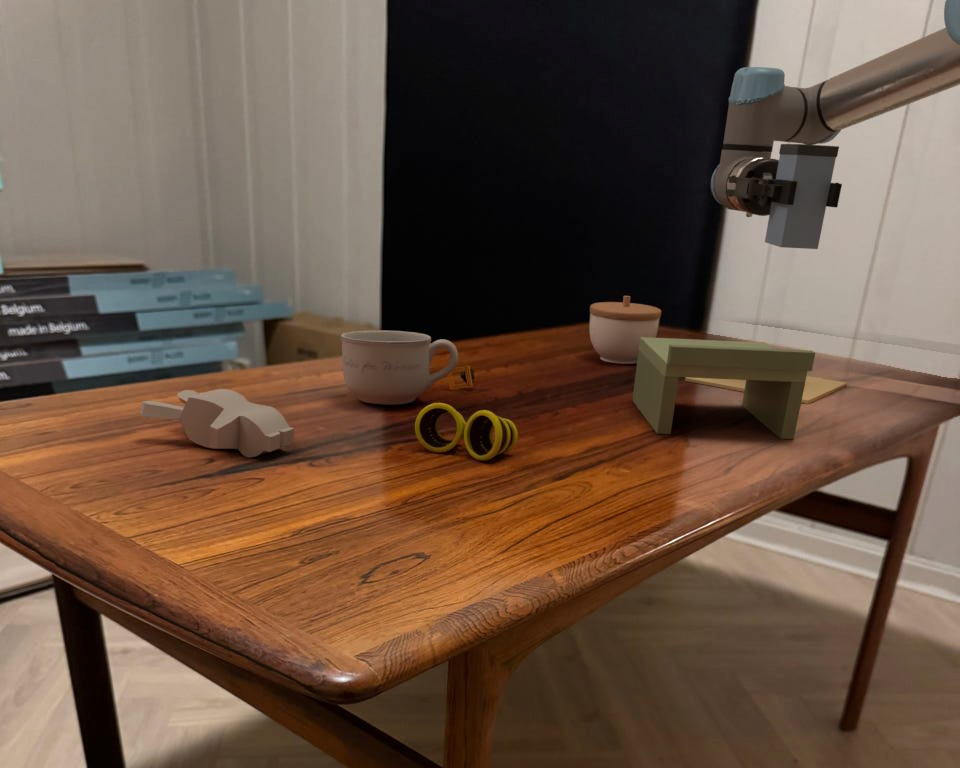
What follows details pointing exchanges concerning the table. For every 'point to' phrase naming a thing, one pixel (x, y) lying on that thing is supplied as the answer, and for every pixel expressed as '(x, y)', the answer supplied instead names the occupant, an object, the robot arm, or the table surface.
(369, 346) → the teacup
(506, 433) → the opera glasses
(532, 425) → the table surface
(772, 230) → the dark-capped grey pillar
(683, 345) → the stool
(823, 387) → the mat
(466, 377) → the framed picture
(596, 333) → the trinket box
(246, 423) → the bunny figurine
